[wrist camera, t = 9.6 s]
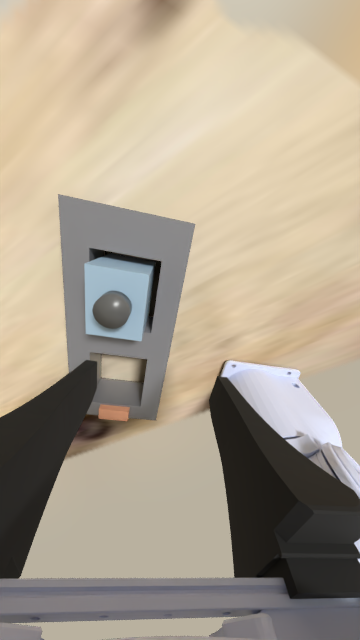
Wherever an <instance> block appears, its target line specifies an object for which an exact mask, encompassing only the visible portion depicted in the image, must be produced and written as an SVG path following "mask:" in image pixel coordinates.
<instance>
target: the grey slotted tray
mask: <svg viewBox="0 0 360 640" xmlns="http://www.w3.org/2000/svg"><path fill="white" fill-rule="evenodd" d="M58 199H59V216H60V233H61V249H62V266H63V282H64V299H65V316H66V332H67V349H68V365H69V373H70V372H71V371H73V370H74V369H75V368H76V367H78V366H79V365H80V364H81V363H83V362H84V361H86V360H91V361H97V389H96V392H95V395H94V398H93V400H92V403H91V405H90V407H89V409H88V411H87V413H86V414H92V415H99V419H108V420H120V421H128V418H135V419H146V420H156V417H157V412H158V407H159V402H160V397H161V392H162V387H163V382H164V377H165V372H166V367H167V362H168V357H169V352H170V347H171V342H172V337H173V332H174V327H175V322H176V317H177V312H178V307H179V302H180V297H181V292H182V287H183V282H184V277H185V272H186V267H187V262H188V257H189V252H190V247H191V242H192V237H193V232H194V227H195V224H193V223H189V222H184V221H179V220H175V219H170V218H166V217H161V216H156V215H152V214H147V213H143V212H138V211H133V210H129V209H124V208H119V207H115V206H110V205H106V204H101V203H96V202H92V201H87V200H82V199H78V198H73V197H69V196H64V195H59V194H58ZM104 250H105V251H110V252H115V253H121V254H126V255H131V256H136V257H142V258H147V259H152V260H158V261H162V263H161V270H160V277H159V283H158V290H157V297H156V304H155V311H154V317H151V316H148V318H147V322H146V326H145V330H144V334H143V337H142V341H135V340H128V339H120V338H113V337H105V336H98V335H91V334H86V322H85V268H84V264H85V263H87V262H90V261H92V260H95V259H97V258H100V257H102V256H104ZM102 354H109V355H117V356H125V357H133V358H140V359H147V365H146V372H145V379H144V383H140V382H132V381H123V380H114V379H105V378H101V356H102Z"/></svg>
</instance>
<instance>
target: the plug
mask: <svg viewBox="0 0 360 640" xmlns="http://www.w3.org/2000/svg"><path fill="white" fill-rule="evenodd" d="M155 265H156V261H153V260H147V259H142V258H136V257H131V256H125V255H120V254H115V253H110V254H107V255H105V256H102V257H100V258H97V259H95V260H92V261H90V262H87V263H85V264H84V268H85V322H86V334H91V335H98V336H105V337H113V338H120V339H128V340H135V341H142V337H143V334H144V330H145V326H146V322H147V318H148V315H149V311H150V303H151V295H152V288H153V280H154V272H155Z"/></svg>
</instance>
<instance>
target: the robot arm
mask: <svg viewBox="0 0 360 640" xmlns="http://www.w3.org/2000/svg"><path fill="white" fill-rule="evenodd" d="M234 364H235V365H234ZM232 365H234V366H232ZM299 376H300V372H299V370H297V369H290V368H282V367H275V366H268V365H260V364H253V363H245V362H238V361H230V360H229V361H226V362H225V364H224V367H223V370H222V373H221V376H217V379H216V382H215V385H214V388H213V391H212V394H211V397H210V399H209V403H210V412H211V418H212V423H213V427H214V431H215V435H216V440H217V444H218V448H219V452H220V457H221V462H222V466H223V474H224V481H225V488H226V495H227V503H228V512H229V520H230V530H231V540H232V552H233V564H234V576H235V578H77V579H76V578H68V579H67V578H60V579H59V578H58V579H56V578H50V579H49V578H48V579H18V578H19V577H20V576H21V573H22V570H23V567H24V565H25V562H26V559H27V556H28V553H29V550H30V548H31V545H32V542H33V539H34V536H35V533H36V531H37V528H38V525H39V523H40V520H41V517H42V515H43V512H44V509H45V506H46V504H47V501H48V498H49V496H50V493H51V491H52V488H53V486H54V483H55V481H56V478H57V475H58V473H59V470H60V468H61V466H62V463H63V461H64V458H65V456H66V453H67V451H68V449H69V447H70V445H71V443H72V441H73V439H74V437H75V435H76V433H77V431H78V429H79V427H80V425H81V423H82V421H83V419H84V417H85V415H86V413H87V411H88V409H89V407H90V405H91V403H92V400H93V398H94V395H95V392H96V389H97V361H91V360H86V361H84V362H83V363H81V364H80V365H79V366H78V367H76V368H75V369H74V370H73V371H71V372H70V373H69V374H68V375H66V376H65V377H64V378H62V379H61V380H60V381H58V382H57V383H56V384H54V385H53V386H51V387H50V388H48V389H47V390H45V391H44V392H43V393H41V394H40V395H38V396H37V397H35V398H34V399H32V400H30V401H29V402H27V403H26V404H24V405H22V406H20V407H19V408H17V409H15V410H14V411H12V412H10V413H8V414H6V415H4V416H2V417H0V640H44V639H42V638H41V634H42V630H41V627H36V626H28V625H19V624H11V623H30V622H64V621H65V622H67V621H98V620H99V621H100V620H135V619H172V618H205V617H206V618H207V617H238V618H233V619H228V620H224V622H223V624H222V628H221V629H219V630H218V631H217V632H215V633H213V634H211V635H209V637H202V636H154V637H132V638H117V639H104V640H360V466H359V465H358V464H357V462H356V461H355V460H354V459H353V458H352V457H351V456H350V455H349V454H348V453H347V452H346V451H345V450H344V449H343V448H342V442H341V438H340V434H339V432H338V429H337V427H336V425H335V423H334V422H333V420H332V419H331V417H330V416H329V415H328V414H327V413H326V411H325V410H324V409H323V408H322V407H321V405H320V404H319V403H318V402H317V401H316V400H315V398H314V397H313V396H312V395H311V394H310V393H309V391H308V390H307V389H306V388H305V387H304V385H303V384H302V383H301V382H300V381H299V380H298V377H299ZM242 616H243V617H242Z"/></svg>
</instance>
